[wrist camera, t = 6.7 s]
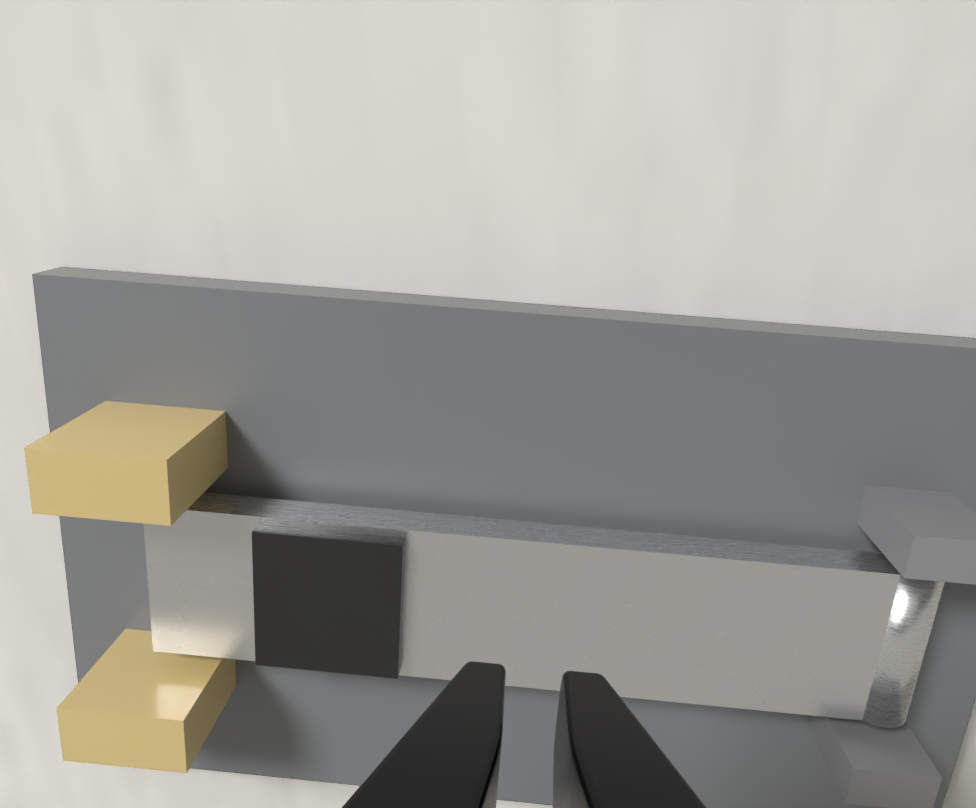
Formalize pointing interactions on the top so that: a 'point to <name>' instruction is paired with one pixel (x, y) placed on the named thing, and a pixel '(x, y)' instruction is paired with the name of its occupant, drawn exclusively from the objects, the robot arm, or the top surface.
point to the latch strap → (540, 605)
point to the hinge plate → (493, 502)
